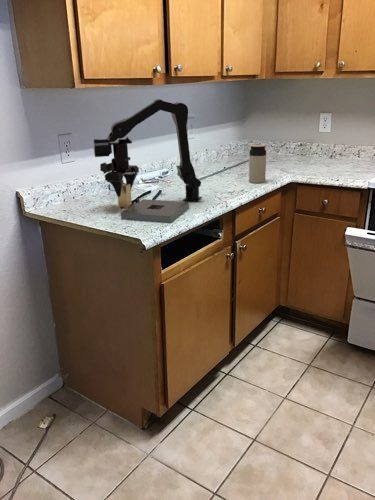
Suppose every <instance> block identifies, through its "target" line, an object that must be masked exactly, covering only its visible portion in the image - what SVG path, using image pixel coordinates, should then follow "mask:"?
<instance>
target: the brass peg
mask: <svg viewBox="0 0 375 500" xmlns="http://www.w3.org/2000/svg"><path fill="white" fill-rule="evenodd" d="M131 190H132V188H131V187H130V184H126V182H125V183H124V182H123V186H122V191H121V195H120V197H118V196H117V199H118V200H117V202H118V203H117V204H118V207H119V208H125V209H128V208H129V207H131V206H132V205H133V203H132V202H133V201H132V191H131ZM131 204H132V205H131ZM130 205H131V206H130Z"/></svg>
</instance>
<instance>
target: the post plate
mask: <svg viewBox="0 0 375 500" xmlns="http://www.w3.org/2000/svg"><path fill="white" fill-rule="evenodd" d="M189 208H190V201H178V200H176V201H175V200H161V199H159V200H158V199H145V198H143V199H141V200H140V201H138V202H136V203H134V204H132V205H131V206H129V207H128V208H125V209H124V210H122V211H121V212H120V219H121V220H129V221H130V220H131V221H141V222H144V221H145V222H155V223H167V224H168V223H169V224H172V223H173V222H174V221H175V220H176V219H177V218H179V217H180V216H181V215H183V214H184V213H185V212H186V211H187V210H188V209H189ZM172 221H173V222H172Z"/></svg>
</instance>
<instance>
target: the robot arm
mask: <svg viewBox="0 0 375 500" xmlns="http://www.w3.org/2000/svg"><path fill="white" fill-rule="evenodd" d="M160 111H162V112H167V113H170V114H171V117H172V120H173V123H174V124H175V125H174V126H175V129H176V137H177V144H178V145H177V146H178V153H179V165H176V169H177V176H178V177H179V179H180V180H181V181H182V182H183V183H184V184H185V188H184V189H185V197H184V198H183V199H182V202H199V201H200V200H201V199H202V198H203V197H202V196H200V187H201V185H202V181H201V180H200V179H198V178H197V175H196V172H195V168H194V166H193V163H192V161H191V155H190V154H191V153H190V146H189V144H190V143H189V137H188V128H187V127H188V125H187V124H188V119H189V108H188V105H186V104H185V103H183V102H178V101H177V102H174V103H172V102H168V101H164V100H163V99H159V98H157V99H154V100H153V101H152V102H151V103H149V104H147V106H144V107H143V108H141V109H140V110H138V111H137V112H135V113H134V114H133V115H131V116H129V117H127V118H123V119H120V120H119V121H116V122H113V124H111V127H110V133H109V134H108V135H107V138H100V139H99V138H95V139H93V151H94V152H93V153H94V157H95V158H101V157H110V155H111V154H113V158H111V162H109V163H107V162H102V163H100V166H99V168H100V169H99V170H100V172H102V173H103V174H104V181H106V182H107V183H110V184H111V185H112V187H113V189H114V192H115V194H116V196H117V198H118V197H120V195H121V191H122V186H123V183H124V178H125V184H130V187H131V189H132V188H133V186H134V182H135V180H136V178H137V176H138V175H139V174H138V173H139V172H140V168H139V166H138V165H133V164H130V162H129V161H131V156H129V150H128V148H129V147H128V144H129V145H130V144H132V143H133V141H132V140H131V139H130V138H129V137H128V136H127V135H128V134H129V133H130V132H131V131H132V130H133V129H135V127H136V126H137V125H139V124H140V123H141V124H142V122H144V121H145V120H147V119H148V118H150V117H152V116H153V115H154V114H157V113H158V112H160Z"/></svg>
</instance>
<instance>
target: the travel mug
mask: <svg viewBox="0 0 375 500" xmlns="http://www.w3.org/2000/svg"><path fill="white" fill-rule="evenodd" d="M266 145H267V144H266V143H252V144H250V145H249V146H250V150H249V157H248V160H249V161H248V162H249V163H248V182H249V183H252V184H262V183H263V184H264V183H265V182H266V174H267V173H266V171H267V170H266V169H267V167H266V166H267V150H266Z"/></svg>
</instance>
